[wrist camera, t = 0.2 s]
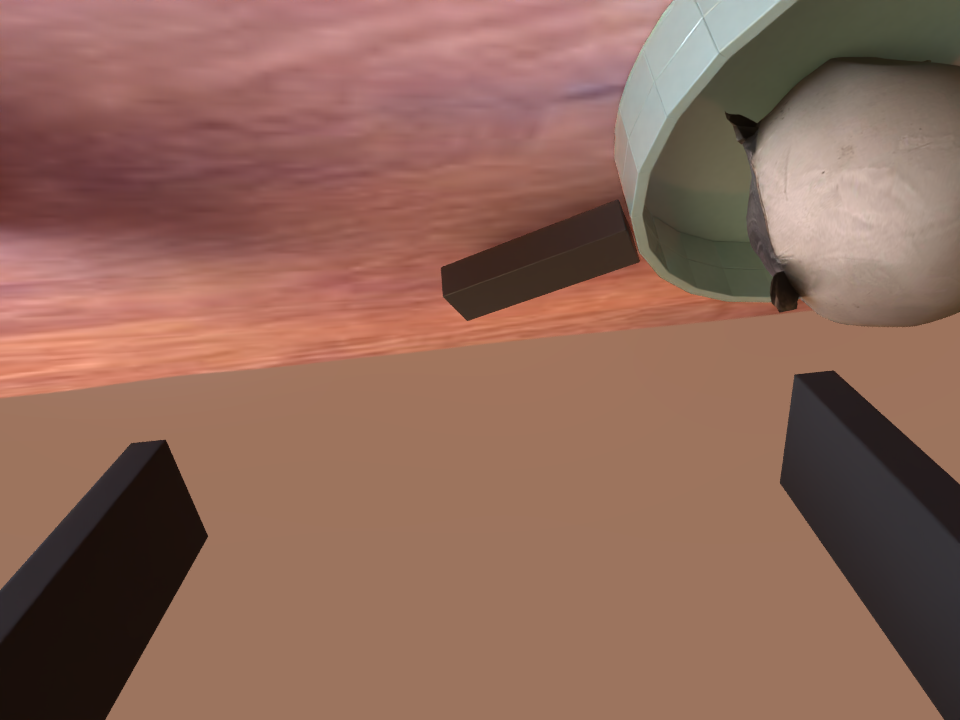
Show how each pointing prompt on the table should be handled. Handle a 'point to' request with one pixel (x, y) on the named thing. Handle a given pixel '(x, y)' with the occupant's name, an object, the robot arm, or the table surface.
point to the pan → (737, 90)
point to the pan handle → (541, 262)
